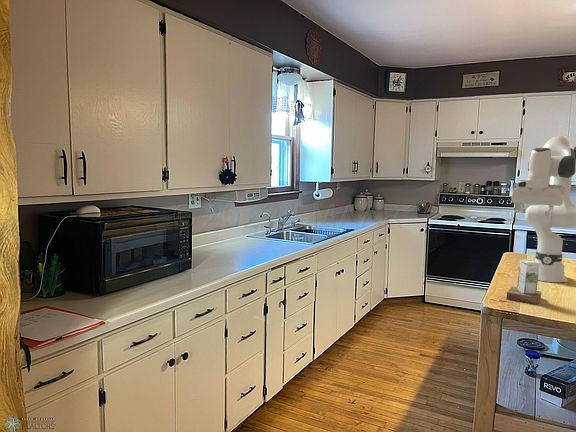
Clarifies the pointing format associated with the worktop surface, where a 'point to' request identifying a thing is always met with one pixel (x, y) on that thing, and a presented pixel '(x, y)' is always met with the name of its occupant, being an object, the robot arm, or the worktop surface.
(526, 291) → the syrup box
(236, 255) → the worktop surface
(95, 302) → the worktop surface
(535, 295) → the walnut base
